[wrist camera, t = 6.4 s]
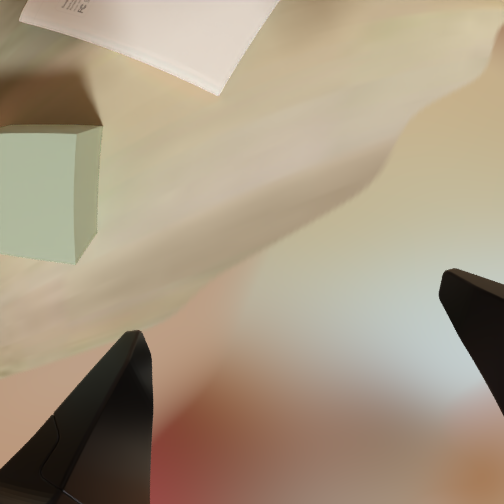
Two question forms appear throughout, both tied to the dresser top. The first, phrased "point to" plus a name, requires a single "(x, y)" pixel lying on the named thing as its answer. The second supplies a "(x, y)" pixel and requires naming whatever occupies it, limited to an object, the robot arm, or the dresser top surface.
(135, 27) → the external hard drive
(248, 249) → the dresser top surface
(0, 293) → the dresser top surface
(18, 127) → the sage block
